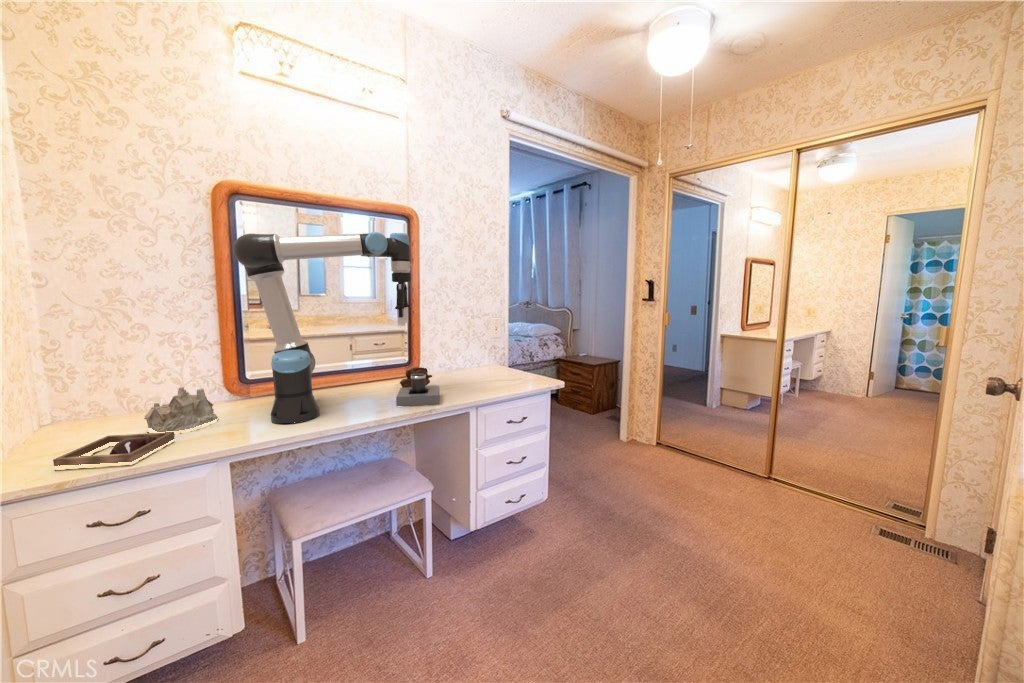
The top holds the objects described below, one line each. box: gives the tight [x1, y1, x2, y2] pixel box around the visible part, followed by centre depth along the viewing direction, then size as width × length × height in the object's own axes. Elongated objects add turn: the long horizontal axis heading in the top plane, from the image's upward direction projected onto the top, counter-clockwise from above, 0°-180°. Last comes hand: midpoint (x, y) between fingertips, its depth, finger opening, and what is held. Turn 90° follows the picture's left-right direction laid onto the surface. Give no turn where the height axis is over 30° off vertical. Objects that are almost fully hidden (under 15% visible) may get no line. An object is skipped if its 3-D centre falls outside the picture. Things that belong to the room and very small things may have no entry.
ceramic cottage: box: [143, 386, 219, 432], centre depth 127 cm, size 16×16×15 cm
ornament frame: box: [52, 432, 175, 467], centre depth 106 cm, size 17×16×3 cm
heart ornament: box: [108, 436, 157, 455], centre depth 107 cm, size 6×12×11 cm
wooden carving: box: [399, 366, 433, 388], centre depth 174 cm, size 16×5×10 cm, turn 143°
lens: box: [411, 373, 427, 394], centre depth 156 cm, size 6×6×10 cm
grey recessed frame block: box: [395, 385, 440, 407], centre depth 156 cm, size 16×14×4 cm
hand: (403, 324), depth 160 cm, fingers open, 13 cm apart
